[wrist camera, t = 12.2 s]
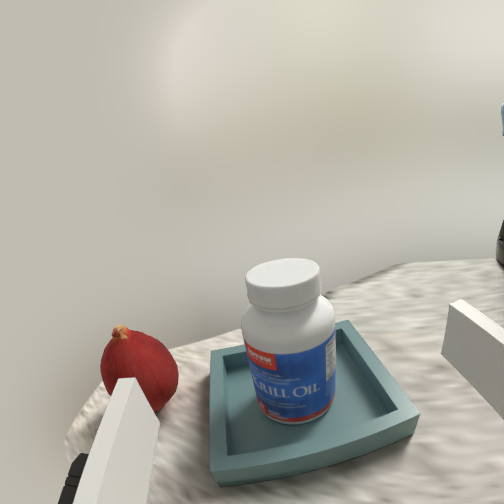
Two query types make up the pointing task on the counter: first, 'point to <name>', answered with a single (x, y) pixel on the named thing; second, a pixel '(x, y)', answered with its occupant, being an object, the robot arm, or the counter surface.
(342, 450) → the tray
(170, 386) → the onion
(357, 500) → the counter surface
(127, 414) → the robot arm
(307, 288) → the pill bottle
